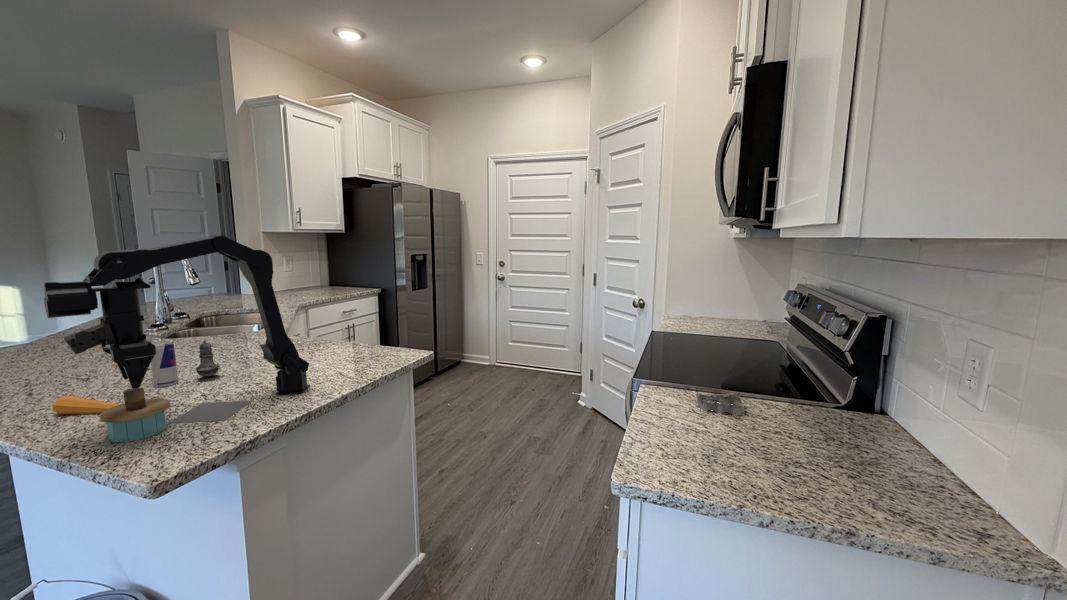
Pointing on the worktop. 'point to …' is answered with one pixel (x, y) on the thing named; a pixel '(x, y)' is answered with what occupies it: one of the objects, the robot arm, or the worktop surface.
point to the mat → (211, 412)
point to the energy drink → (164, 365)
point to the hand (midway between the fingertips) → (131, 383)
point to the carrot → (80, 406)
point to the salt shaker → (207, 363)
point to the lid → (134, 407)
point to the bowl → (137, 428)
